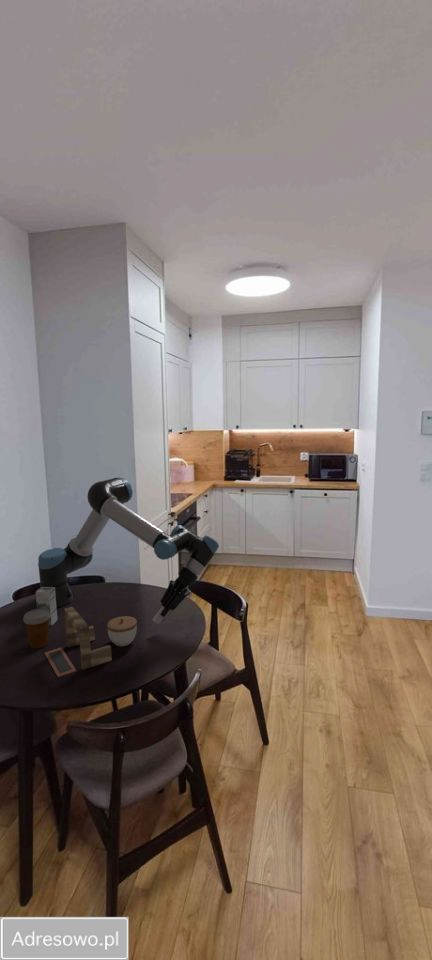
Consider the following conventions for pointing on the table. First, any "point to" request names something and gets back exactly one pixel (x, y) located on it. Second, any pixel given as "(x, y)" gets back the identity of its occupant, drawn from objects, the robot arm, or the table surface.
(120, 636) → the lidded jar
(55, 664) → the framed chalkboard
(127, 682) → the table surface
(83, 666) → the tunnel
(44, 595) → the syrup box
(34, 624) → the disposable coffee cup
